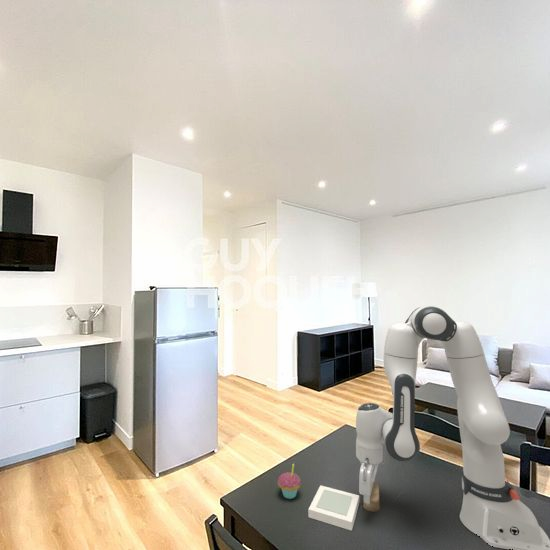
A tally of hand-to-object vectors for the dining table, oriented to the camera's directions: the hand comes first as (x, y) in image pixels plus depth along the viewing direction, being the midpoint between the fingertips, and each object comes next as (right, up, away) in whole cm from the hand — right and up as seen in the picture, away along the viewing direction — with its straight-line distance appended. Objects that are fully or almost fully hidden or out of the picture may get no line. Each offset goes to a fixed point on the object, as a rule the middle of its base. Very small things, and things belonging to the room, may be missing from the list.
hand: (369, 493), depth 105 cm
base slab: (-12, -4, -2) cm, 13 cm away
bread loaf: (+1, -4, -1) cm, 4 cm away
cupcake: (-27, -5, +6) cm, 28 cm away
